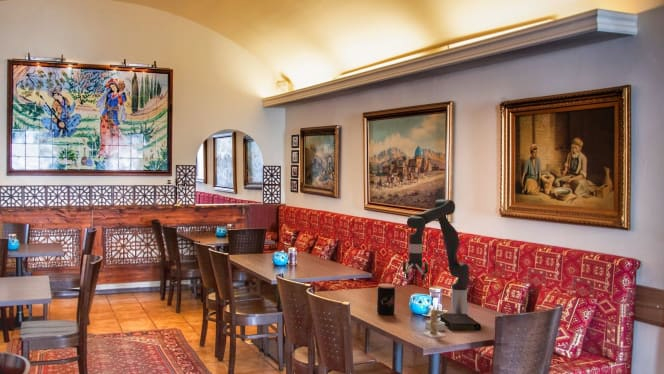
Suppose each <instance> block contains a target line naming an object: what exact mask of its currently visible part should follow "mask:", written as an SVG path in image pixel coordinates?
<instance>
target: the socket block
mask: <svg viewBox="0 0 664 374" xmlns="http://www.w3.org/2000/svg"><path fill="white" fill-rule="evenodd" d="M439 320H440V319H439ZM439 320H438V322H437V332H440V331H445V330H446V327H445V323H444V322H441V321H439ZM430 321H431V319H430V320H425V324H424V325H425V326H424V327H425V328H426V329H427V330H429V331H430Z"/></svg>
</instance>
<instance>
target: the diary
mask: <svg viewBox="0 0 664 374" xmlns="http://www.w3.org/2000/svg"><path fill="white" fill-rule="evenodd" d="M438 315H439V316H440V317H439V318H440V319H439V318H438V320H439V321H441V322H444V323H445V328H447V327H448V328H447V329H448V330H449V332H456V331H457V332H466V331H479V332H480V331H481V330H482V325H481V324H480V322H477V321H476V320H475V319H474V318H472V317H471V316H470V315H467V314H455V313H451V312H449V313H448V312H445V313H444V312H443V315H440V314H438ZM446 326H447V327H446Z"/></svg>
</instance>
